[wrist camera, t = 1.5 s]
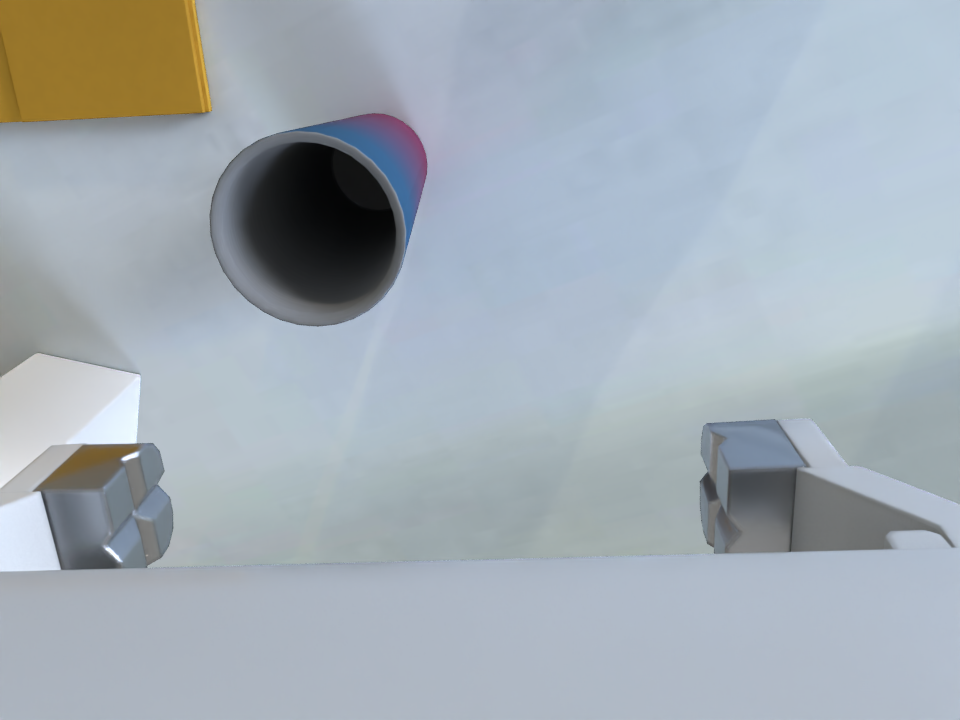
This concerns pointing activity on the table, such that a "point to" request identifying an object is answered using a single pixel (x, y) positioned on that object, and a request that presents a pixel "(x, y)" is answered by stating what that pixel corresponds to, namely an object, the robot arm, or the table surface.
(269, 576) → the robot arm
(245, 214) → the cup
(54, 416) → the milk
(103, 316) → the table surface
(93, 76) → the cloth
